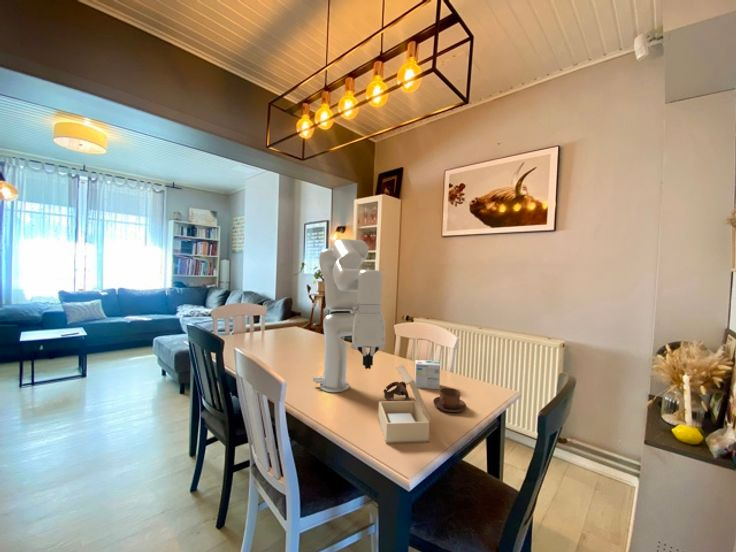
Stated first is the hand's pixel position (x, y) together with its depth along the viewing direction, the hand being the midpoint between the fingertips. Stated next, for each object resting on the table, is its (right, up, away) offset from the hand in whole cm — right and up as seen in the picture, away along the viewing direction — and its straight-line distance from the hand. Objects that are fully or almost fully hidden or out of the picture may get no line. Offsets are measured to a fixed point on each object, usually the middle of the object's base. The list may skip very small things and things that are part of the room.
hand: (367, 367), depth 96 cm
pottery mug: (+12, -21, +25) cm, 34 cm away
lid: (+13, -9, +2) cm, 16 cm away
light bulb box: (+26, -21, +41) cm, 53 cm away
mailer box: (+11, -21, +2) cm, 24 cm away
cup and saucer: (+31, -21, +20) cm, 43 cm away
